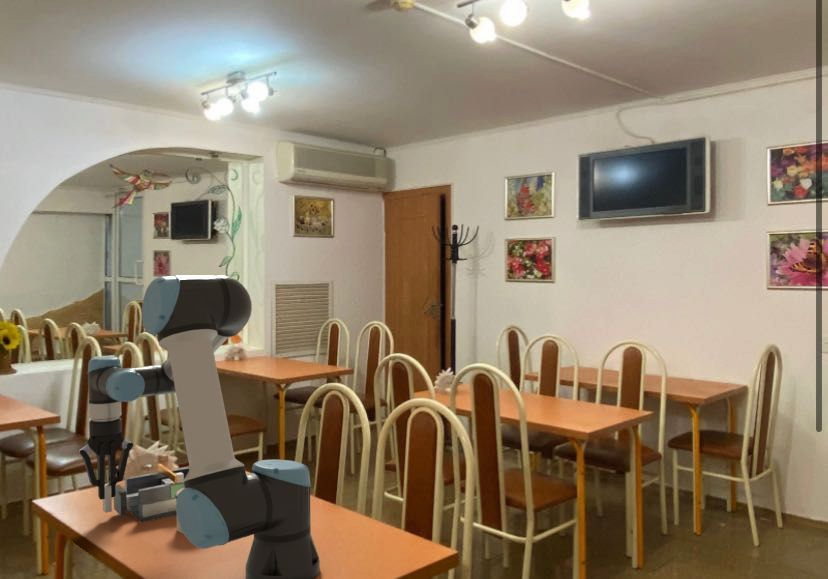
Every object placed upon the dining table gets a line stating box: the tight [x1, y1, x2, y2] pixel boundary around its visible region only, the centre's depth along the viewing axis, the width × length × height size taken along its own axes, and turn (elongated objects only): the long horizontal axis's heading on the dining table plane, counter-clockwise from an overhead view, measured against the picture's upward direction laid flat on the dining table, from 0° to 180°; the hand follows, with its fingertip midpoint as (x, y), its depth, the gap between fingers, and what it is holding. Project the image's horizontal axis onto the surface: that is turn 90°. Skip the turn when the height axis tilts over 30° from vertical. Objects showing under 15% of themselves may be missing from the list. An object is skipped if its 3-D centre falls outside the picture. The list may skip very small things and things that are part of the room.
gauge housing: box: [124, 466, 190, 523], centre depth 183 cm, size 14×18×8 cm
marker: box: [175, 472, 184, 483], centre depth 179 cm, size 2×2×2 cm
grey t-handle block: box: [113, 463, 178, 517], centre depth 181 cm, size 14×16×9 cm
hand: (107, 510), depth 174 cm, fingers closed
